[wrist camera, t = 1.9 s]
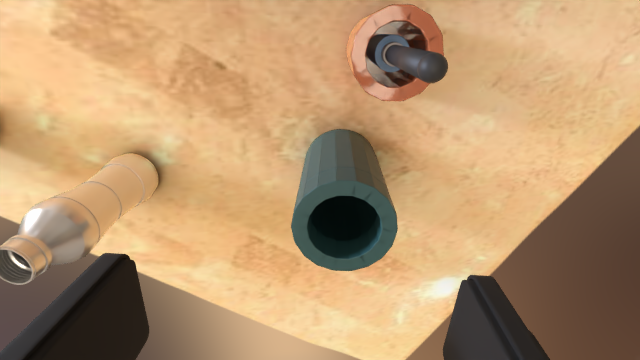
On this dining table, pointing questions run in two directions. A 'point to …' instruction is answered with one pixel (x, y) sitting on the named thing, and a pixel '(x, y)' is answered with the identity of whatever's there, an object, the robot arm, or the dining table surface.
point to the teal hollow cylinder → (343, 204)
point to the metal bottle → (76, 218)
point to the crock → (394, 21)
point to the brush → (406, 58)
